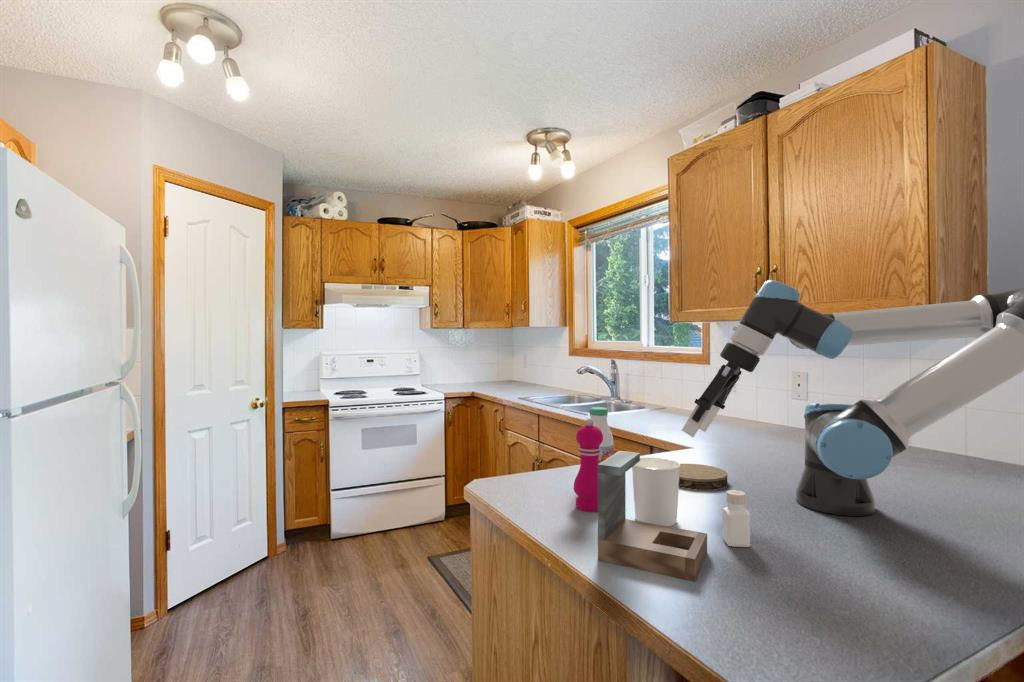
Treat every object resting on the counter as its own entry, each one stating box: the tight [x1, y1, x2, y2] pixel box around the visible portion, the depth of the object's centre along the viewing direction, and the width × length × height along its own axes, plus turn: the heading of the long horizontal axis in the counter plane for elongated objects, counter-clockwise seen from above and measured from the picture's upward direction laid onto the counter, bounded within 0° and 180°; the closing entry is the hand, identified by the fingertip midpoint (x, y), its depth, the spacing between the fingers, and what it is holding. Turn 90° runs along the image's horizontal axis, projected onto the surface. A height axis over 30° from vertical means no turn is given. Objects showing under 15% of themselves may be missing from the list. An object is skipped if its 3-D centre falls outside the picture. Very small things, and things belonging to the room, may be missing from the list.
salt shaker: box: [722, 489, 751, 548], centre depth 95 cm, size 4×4×10 cm
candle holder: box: [631, 457, 681, 527], centre depth 107 cm, size 10×10×12 cm
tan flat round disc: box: [679, 463, 728, 491], centre depth 136 cm, size 16×16×3 cm
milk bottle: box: [589, 406, 615, 463], centre depth 132 cm, size 8×8×20 cm
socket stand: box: [597, 450, 708, 582], centre depth 90 cm, size 16×12×16 cm
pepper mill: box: [573, 418, 603, 513], centre depth 115 cm, size 7×7×20 cm
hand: (693, 431), depth 115 cm, fingers open, 13 cm apart
